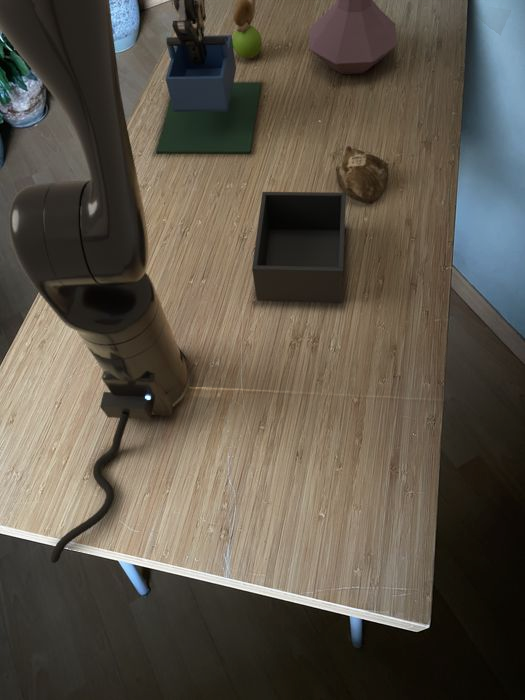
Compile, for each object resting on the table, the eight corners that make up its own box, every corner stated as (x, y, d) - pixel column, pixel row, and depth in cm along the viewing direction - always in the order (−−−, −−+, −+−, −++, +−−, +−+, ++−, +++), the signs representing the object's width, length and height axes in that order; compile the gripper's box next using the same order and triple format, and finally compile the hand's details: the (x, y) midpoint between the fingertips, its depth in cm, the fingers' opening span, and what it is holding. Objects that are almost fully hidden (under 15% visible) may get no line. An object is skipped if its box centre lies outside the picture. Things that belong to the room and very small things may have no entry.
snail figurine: (271, 48, 112) (266, -18, 101) (252, 67, 109) (245, 2, 99) (247, 41, 114) (240, -25, 103) (228, 59, 111) (219, -6, 101)
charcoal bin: (341, 305, 81) (343, 271, 74) (257, 302, 82) (251, 268, 76) (344, 229, 88) (346, 192, 81) (266, 228, 89) (262, 191, 82)
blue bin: (229, 111, 95) (221, 58, 87) (172, 111, 96) (159, 60, 88) (237, 68, 100) (230, 15, 93) (183, 69, 102) (171, 17, 94)
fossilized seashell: (340, 145, 93) (321, 196, 90) (362, 123, 87) (342, 177, 84) (379, 168, 95) (362, 220, 92) (403, 148, 89) (385, 203, 86)
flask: (326, 25, 114) (327, -94, 97) (409, 41, 109) (425, -82, 92) (292, 77, 107) (286, -42, 90) (379, 95, 102) (391, -26, 85)
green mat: (250, 153, 98) (250, 151, 97) (156, 153, 99) (155, 151, 99) (261, 84, 107) (260, 81, 106) (174, 85, 108) (174, 83, 108)
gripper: (158, -85, 83) (183, 34, 97) (139, -33, 76) (169, 87, 91) (211, -88, 82) (228, 33, 97) (196, -35, 75) (216, 86, 90)
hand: (199, 59), depth 94 cm, fingers closed on blue bin, 1 cm apart
